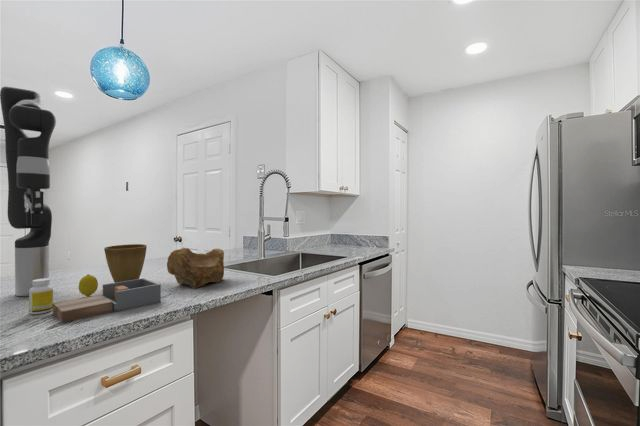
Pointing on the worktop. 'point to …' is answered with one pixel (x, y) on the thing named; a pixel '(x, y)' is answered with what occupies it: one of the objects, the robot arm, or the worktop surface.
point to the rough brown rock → (196, 267)
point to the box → (133, 294)
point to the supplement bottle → (40, 296)
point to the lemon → (88, 285)
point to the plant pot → (125, 261)
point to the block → (119, 288)
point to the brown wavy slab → (82, 308)
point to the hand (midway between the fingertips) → (33, 225)
